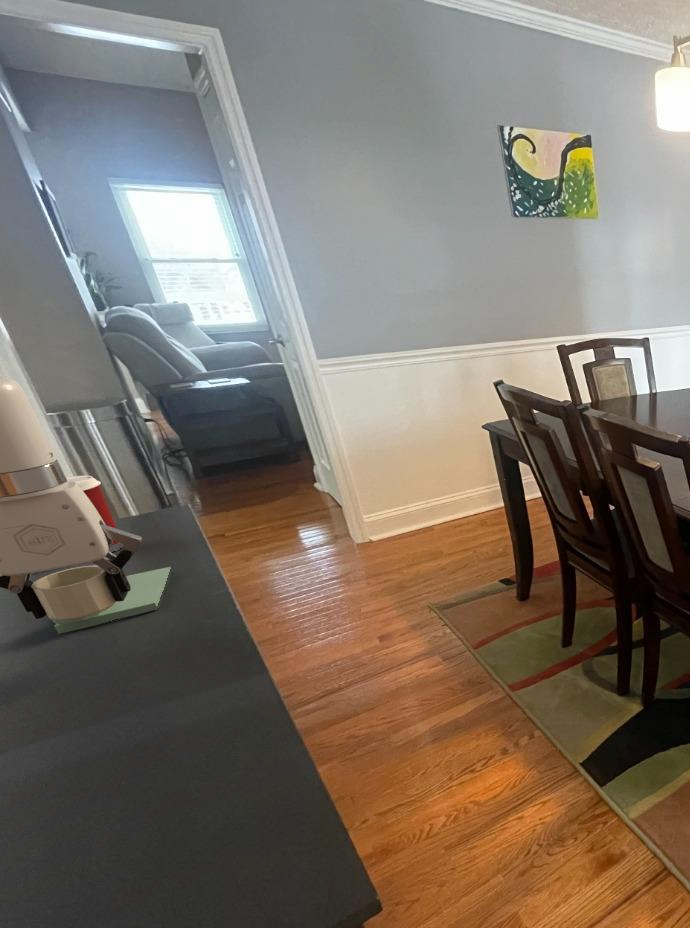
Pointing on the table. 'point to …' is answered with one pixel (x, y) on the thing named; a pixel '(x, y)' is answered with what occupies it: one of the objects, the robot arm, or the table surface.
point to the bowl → (74, 593)
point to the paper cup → (95, 497)
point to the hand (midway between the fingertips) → (83, 604)
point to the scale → (125, 601)
